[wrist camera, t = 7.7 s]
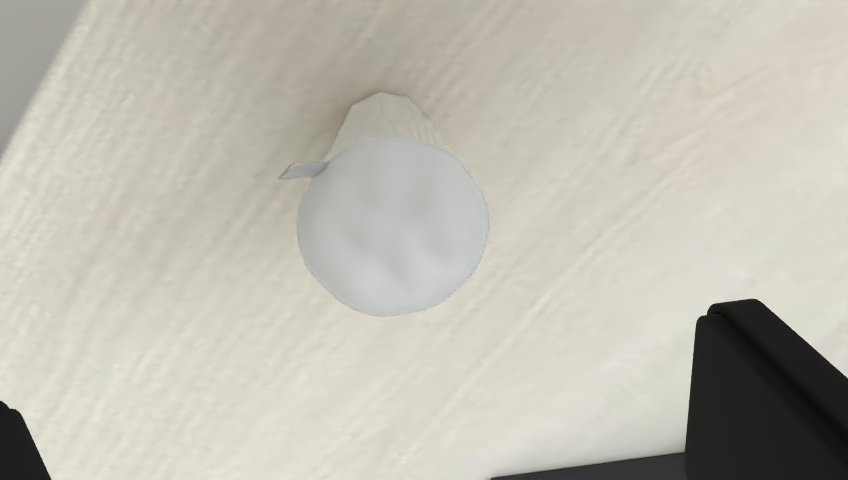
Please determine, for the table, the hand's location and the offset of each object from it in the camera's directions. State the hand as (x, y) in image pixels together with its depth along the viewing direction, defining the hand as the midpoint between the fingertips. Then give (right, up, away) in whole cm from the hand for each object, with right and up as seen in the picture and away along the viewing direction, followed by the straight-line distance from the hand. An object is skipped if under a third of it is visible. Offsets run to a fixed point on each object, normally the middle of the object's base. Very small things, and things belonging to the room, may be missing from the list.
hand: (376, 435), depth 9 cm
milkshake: (-1, +7, +14) cm, 15 cm away
